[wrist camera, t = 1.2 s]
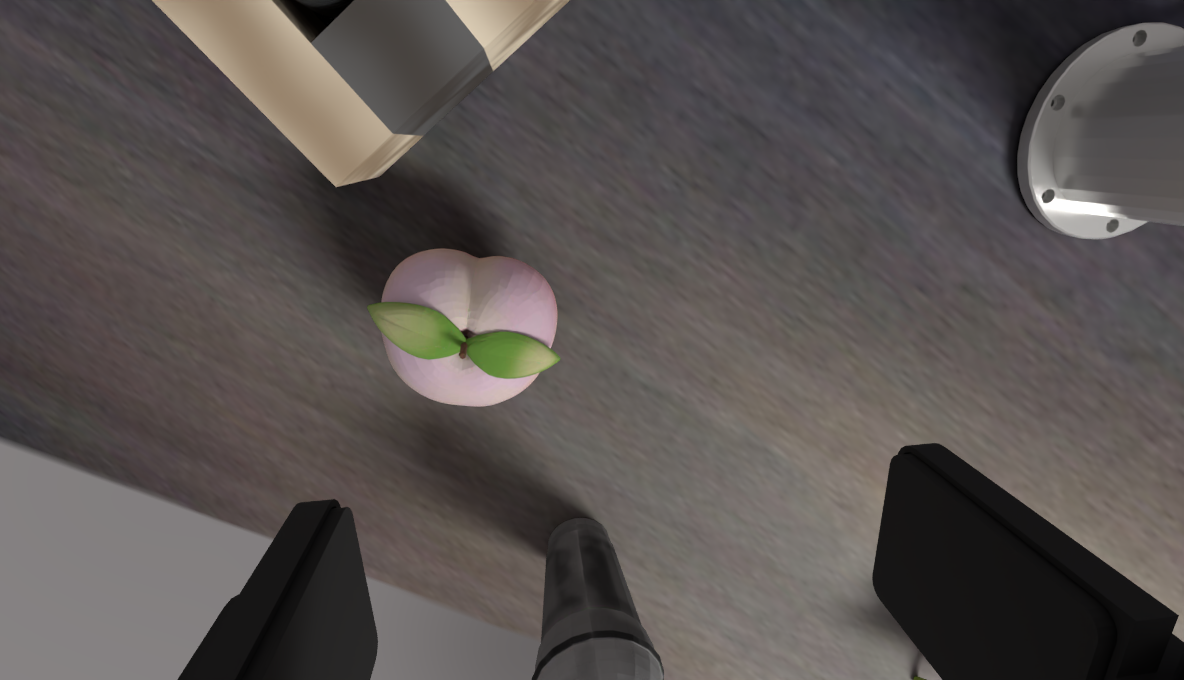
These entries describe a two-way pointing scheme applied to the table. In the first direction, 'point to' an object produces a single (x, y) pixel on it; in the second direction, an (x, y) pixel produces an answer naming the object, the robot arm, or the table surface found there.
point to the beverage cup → (590, 612)
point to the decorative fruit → (467, 326)
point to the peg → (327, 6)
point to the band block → (358, 67)
